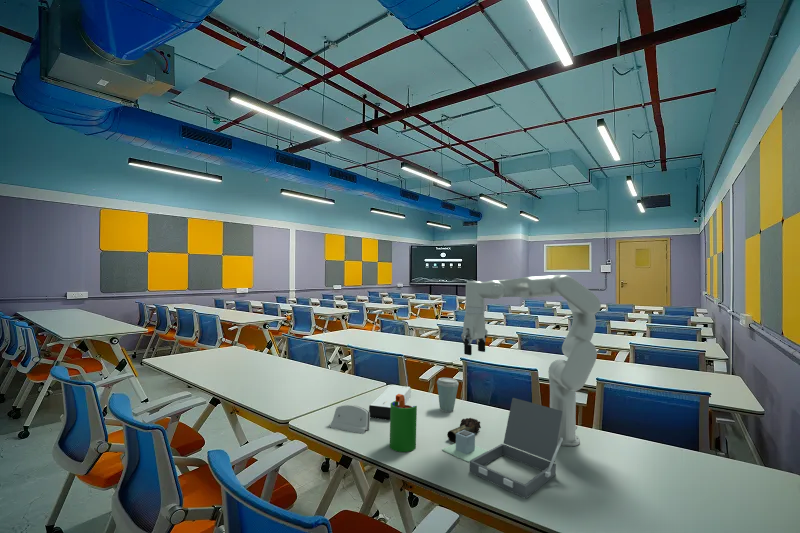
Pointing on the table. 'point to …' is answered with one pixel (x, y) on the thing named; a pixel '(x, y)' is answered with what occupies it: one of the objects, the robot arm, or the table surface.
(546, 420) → the lid
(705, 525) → the table surface
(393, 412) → the motor
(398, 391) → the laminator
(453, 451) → the mat
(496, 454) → the case
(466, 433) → the module
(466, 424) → the brown rough-headed cylinder
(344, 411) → the hinge
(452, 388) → the disposable coffee cup
